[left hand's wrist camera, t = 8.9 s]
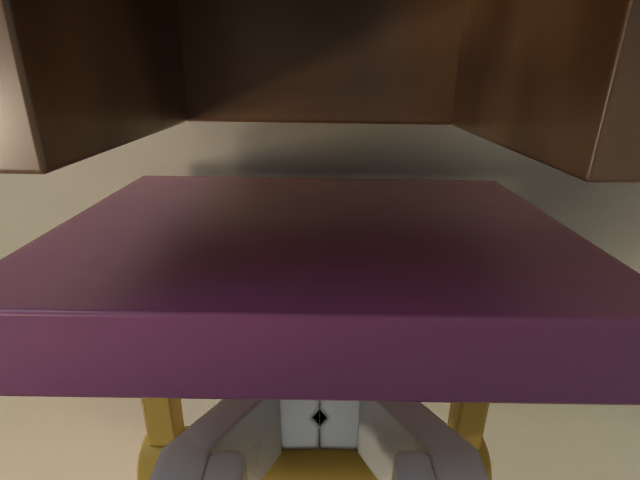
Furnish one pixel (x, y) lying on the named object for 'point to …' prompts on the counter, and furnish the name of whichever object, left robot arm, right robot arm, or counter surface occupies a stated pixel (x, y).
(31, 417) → the counter surface
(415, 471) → the left robot arm
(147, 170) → the counter surface
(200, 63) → the drawer
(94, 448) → the counter surface
